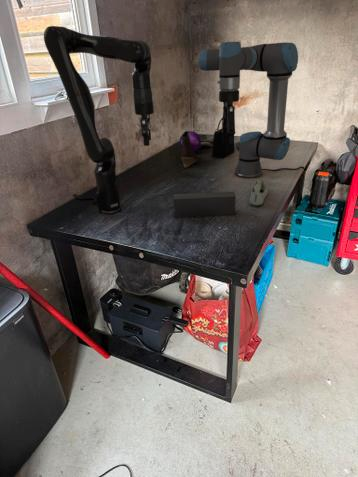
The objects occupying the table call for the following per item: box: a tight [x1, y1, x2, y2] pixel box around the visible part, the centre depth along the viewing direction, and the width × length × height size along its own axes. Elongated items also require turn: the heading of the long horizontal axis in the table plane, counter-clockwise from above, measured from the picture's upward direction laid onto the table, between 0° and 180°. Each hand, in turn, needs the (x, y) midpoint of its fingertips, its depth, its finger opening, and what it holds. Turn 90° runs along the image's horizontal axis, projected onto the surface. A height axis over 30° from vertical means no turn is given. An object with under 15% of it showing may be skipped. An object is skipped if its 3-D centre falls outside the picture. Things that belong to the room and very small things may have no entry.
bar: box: [173, 191, 236, 219], centre depth 146 cm, size 27×5×9 cm, turn 90°
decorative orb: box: [178, 130, 202, 153], centre depth 230 cm, size 15×15×15 cm
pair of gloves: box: [199, 133, 214, 149], centre depth 252 cm, size 30×26×5 cm
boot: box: [180, 130, 198, 169], centre depth 209 cm, size 9×24×20 cm, turn 168°
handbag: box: [211, 116, 236, 159], centre depth 219 cm, size 21×9×25 cm, turn 148°
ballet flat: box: [249, 179, 269, 207], centre depth 158 cm, size 8×24×8 cm, turn 163°
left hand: (147, 142), depth 135 cm, fingers open, 8 cm apart
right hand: (227, 147), depth 133 cm, fingers open, 13 cm apart
